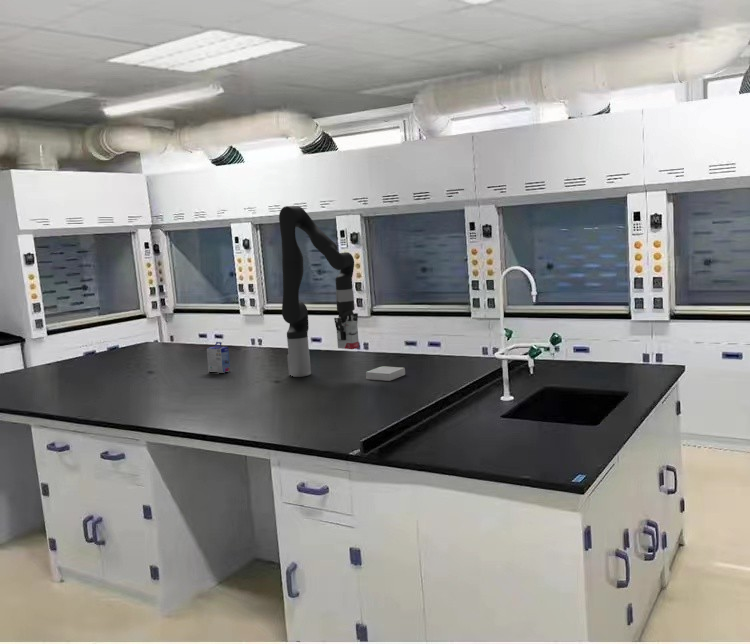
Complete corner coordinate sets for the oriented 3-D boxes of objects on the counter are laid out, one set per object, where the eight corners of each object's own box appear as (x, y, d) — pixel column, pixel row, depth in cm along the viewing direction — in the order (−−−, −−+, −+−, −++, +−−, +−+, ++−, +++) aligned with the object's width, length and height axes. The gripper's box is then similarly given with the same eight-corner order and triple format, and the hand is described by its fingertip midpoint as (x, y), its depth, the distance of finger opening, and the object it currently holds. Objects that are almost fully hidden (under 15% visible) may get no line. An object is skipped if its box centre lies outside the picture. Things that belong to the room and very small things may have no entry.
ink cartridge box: (231, 371, 351) (228, 341, 349) (223, 374, 346) (220, 344, 344) (216, 370, 356) (213, 341, 354) (208, 373, 351) (205, 343, 349)
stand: (366, 379, 312) (365, 372, 312) (382, 372, 322) (381, 366, 322) (389, 380, 305) (389, 373, 305) (405, 374, 315) (404, 367, 315)
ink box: (359, 347, 314) (357, 320, 312) (351, 349, 310) (350, 322, 309) (345, 346, 320) (343, 319, 318) (337, 348, 316) (335, 321, 314)
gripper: (348, 297, 320) (350, 335, 322) (327, 301, 308) (330, 341, 311) (362, 297, 316) (364, 336, 318) (341, 302, 304) (344, 342, 307)
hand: (347, 338), depth 315 cm, fingers closed on ink box, 5 cm apart
